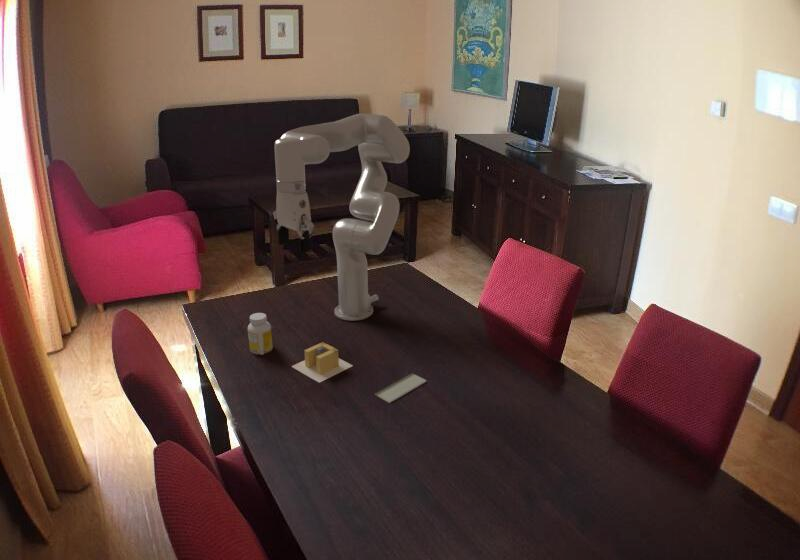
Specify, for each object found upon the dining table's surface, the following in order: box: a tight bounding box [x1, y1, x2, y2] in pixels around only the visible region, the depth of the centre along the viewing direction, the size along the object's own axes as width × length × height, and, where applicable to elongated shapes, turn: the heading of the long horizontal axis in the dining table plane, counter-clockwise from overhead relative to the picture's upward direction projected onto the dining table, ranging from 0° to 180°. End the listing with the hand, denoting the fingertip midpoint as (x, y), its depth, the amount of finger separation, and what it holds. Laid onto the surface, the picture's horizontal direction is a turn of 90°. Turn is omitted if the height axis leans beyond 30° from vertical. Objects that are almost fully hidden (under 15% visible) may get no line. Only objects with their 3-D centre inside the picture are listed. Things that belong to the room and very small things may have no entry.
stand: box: [291, 347, 354, 383], centre depth 175 cm, size 12×12×6 cm
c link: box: [303, 341, 340, 375], centre depth 175 cm, size 6×6×5 cm
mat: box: [373, 372, 427, 404], centre depth 170 cm, size 14×14×1 cm
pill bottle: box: [247, 312, 274, 356], centre depth 183 cm, size 6×6×12 cm
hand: (294, 247), depth 176 cm, fingers open, 9 cm apart
